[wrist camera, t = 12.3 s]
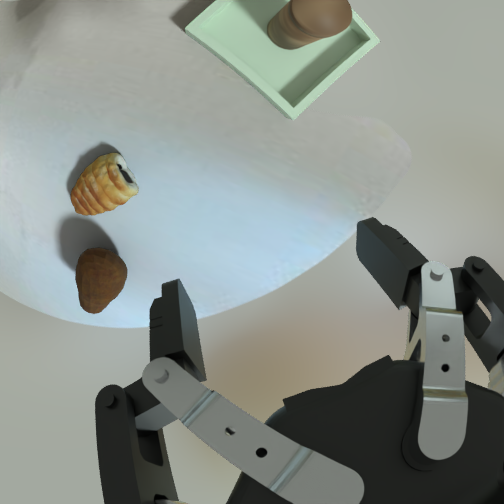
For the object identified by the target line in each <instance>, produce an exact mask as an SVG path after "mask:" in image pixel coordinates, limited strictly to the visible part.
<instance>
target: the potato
mask: <svg viewBox="0 0 504 504" xmlns="http://www.w3.org/2000/svg"><path fill="white" fill-rule="evenodd" d="M126 278H127V267H126V264H125V263H124V261H123V260H122V259H121V258H120V257H119V256H118V255H116V254H115V253H113V252H111V251H110V250H107V249H103V248H91V249H87V250H86V251H84V252H83V253H82V254H81V256H80V257H79V259H78V263H77V267H76V277H75V279H76V283H77V288H78V292H79V301H80V306H81V307H82V308H83V309H84V310H85V311H86V312H88V313H93V314H95V313H100V312H101V311H102V310H103V309H104V308H106V307H107V305H108V304H109V303H110V302H111V301H112V300H113V299H115V298H116V297H117V296H118V294H119V293H120V292H121V290H122V289H123V287H124V284H125V281H126Z"/></svg>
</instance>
